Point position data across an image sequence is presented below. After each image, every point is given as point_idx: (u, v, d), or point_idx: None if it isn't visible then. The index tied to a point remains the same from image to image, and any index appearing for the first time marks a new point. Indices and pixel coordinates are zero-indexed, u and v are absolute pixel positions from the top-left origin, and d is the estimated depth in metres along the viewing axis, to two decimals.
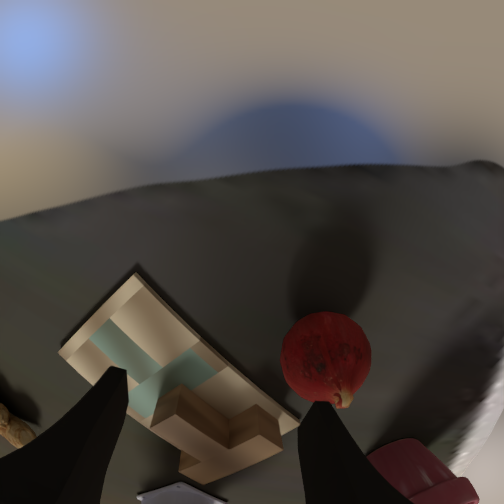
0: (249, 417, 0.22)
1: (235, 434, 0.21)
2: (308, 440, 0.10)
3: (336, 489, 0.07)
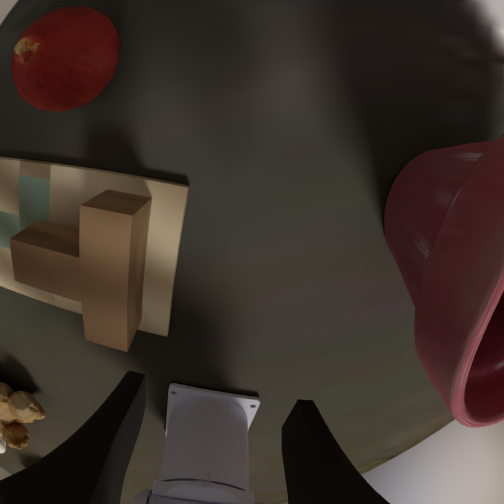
0: None
1: None
2: (291, 439, 0.10)
3: (316, 490, 0.07)
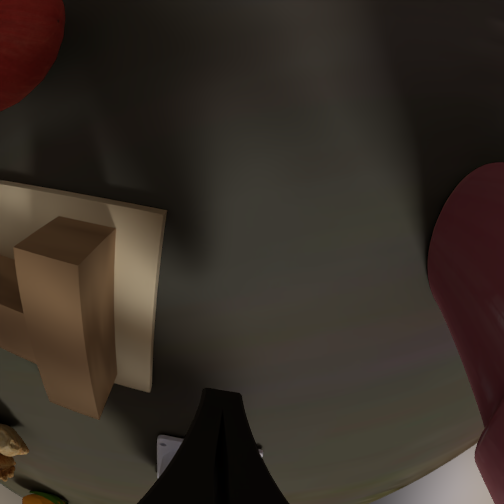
0: None
1: None
2: None
3: (223, 488, 0.07)
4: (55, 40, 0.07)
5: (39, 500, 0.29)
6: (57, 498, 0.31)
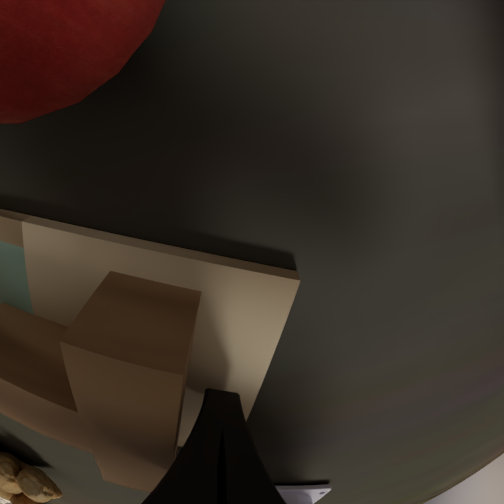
0: None
1: None
2: None
3: (221, 488, 0.07)
4: None
5: None
6: None
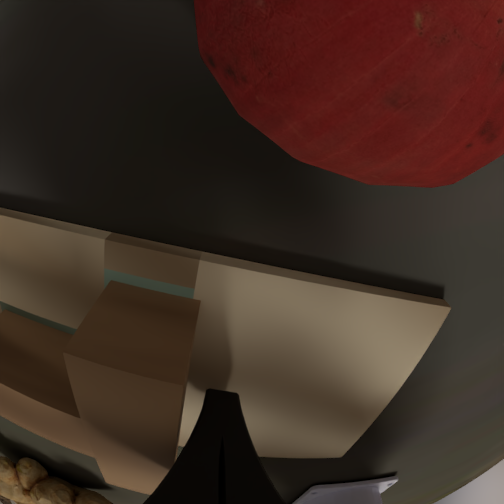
0: None
1: None
2: None
3: (220, 488, 0.07)
4: None
5: None
6: None
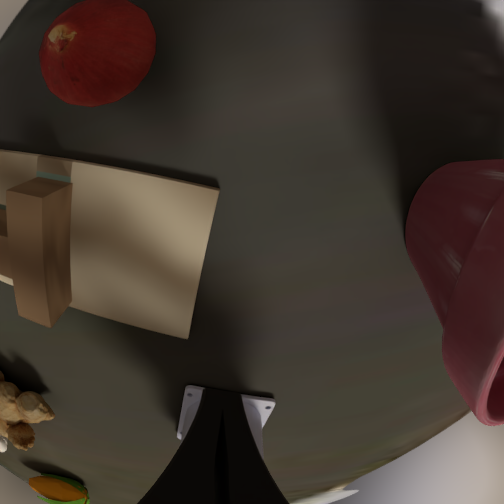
0: None
1: None
2: None
3: (223, 488, 0.07)
4: (152, 60, 0.12)
5: (58, 484, 0.35)
6: (76, 482, 0.37)
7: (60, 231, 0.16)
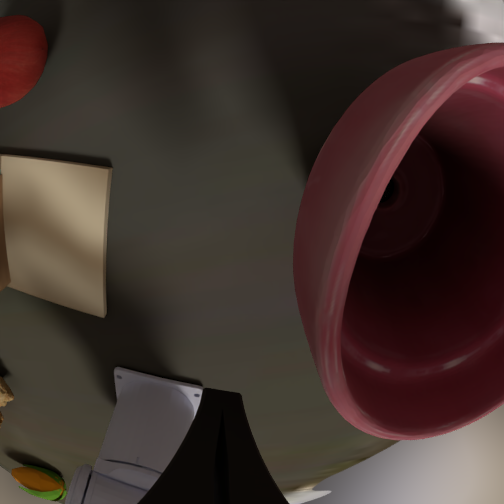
0: None
1: None
2: None
3: (223, 488, 0.07)
4: (41, 61, 0.11)
5: (36, 474, 0.35)
6: (54, 473, 0.37)
7: None
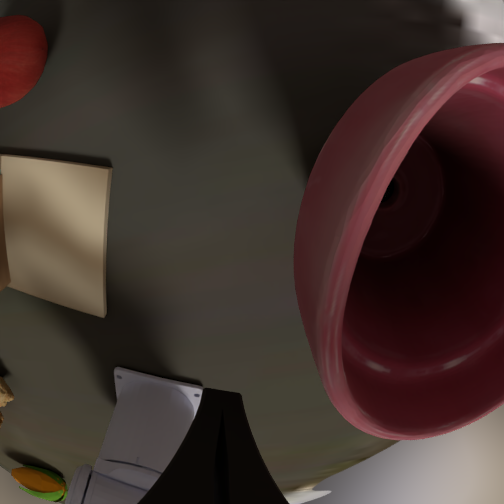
0: None
1: None
2: None
3: (223, 488, 0.07)
4: (41, 61, 0.11)
5: (38, 475, 0.35)
6: (55, 474, 0.37)
7: None
